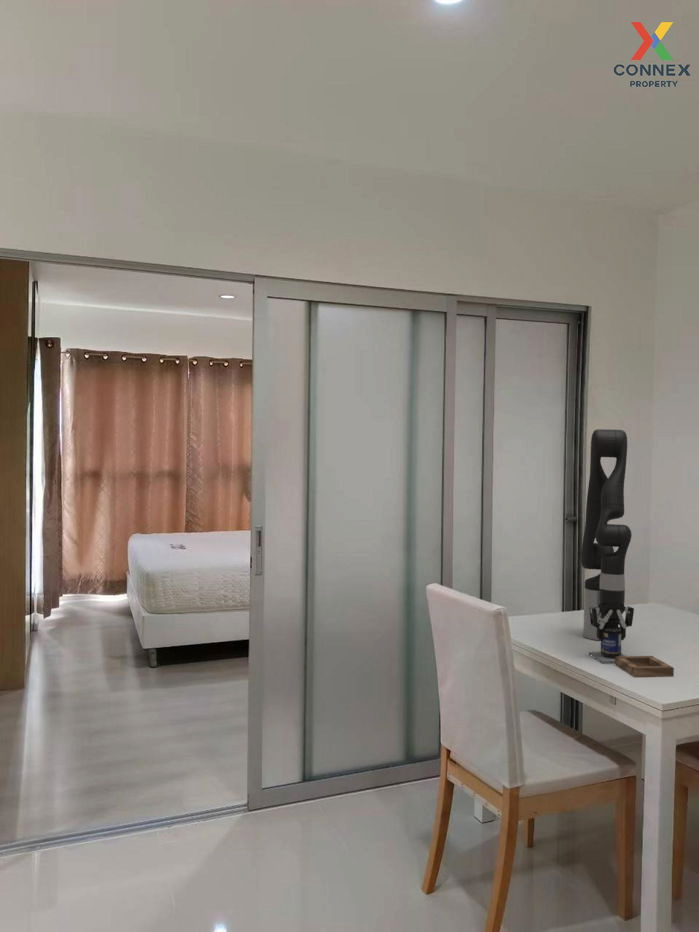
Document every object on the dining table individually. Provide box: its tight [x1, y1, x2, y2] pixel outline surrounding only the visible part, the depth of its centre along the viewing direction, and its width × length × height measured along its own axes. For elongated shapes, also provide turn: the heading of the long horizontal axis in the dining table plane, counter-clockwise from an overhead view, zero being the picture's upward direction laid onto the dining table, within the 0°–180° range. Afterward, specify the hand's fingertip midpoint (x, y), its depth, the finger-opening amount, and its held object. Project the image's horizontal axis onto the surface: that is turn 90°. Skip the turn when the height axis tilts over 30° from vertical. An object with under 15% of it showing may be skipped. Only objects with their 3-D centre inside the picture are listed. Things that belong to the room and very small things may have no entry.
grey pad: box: [588, 651, 626, 664], centre depth 228 cm, size 10×10×1 cm
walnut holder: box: [614, 655, 675, 678], centre depth 216 cm, size 12×12×2 cm
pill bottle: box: [600, 619, 622, 656], centre depth 227 cm, size 6×6×11 cm
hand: (610, 639), depth 227 cm, fingers open, 6 cm apart
